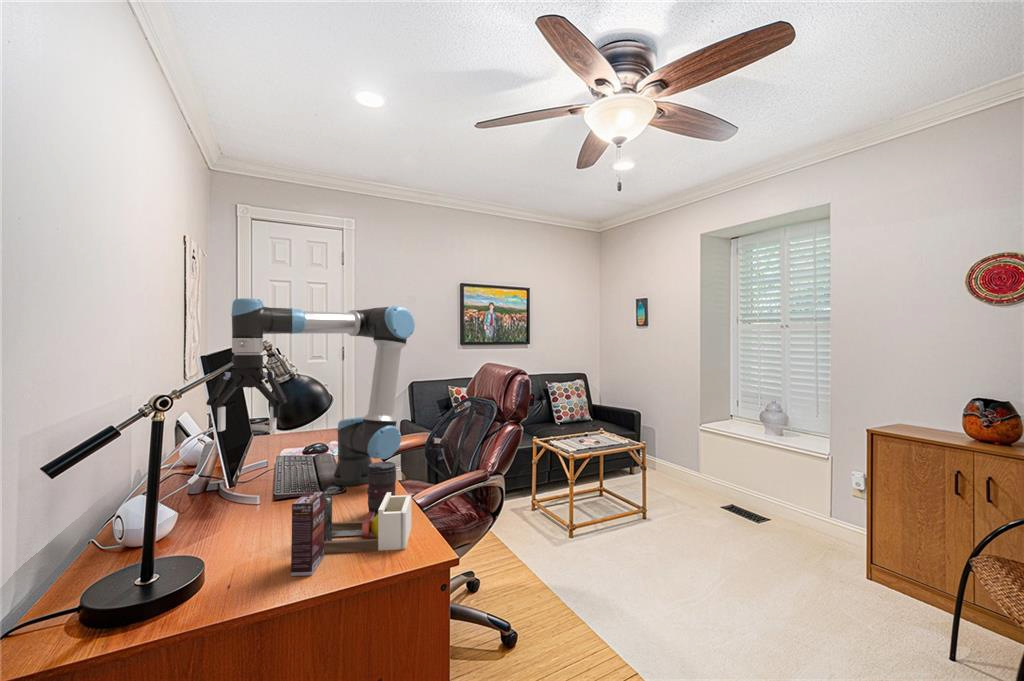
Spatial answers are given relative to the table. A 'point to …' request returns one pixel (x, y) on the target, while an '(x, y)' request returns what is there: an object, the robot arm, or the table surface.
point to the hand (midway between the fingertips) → (247, 430)
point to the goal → (394, 522)
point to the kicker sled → (329, 533)
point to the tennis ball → (375, 526)
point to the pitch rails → (349, 544)
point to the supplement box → (307, 533)
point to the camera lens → (380, 483)
